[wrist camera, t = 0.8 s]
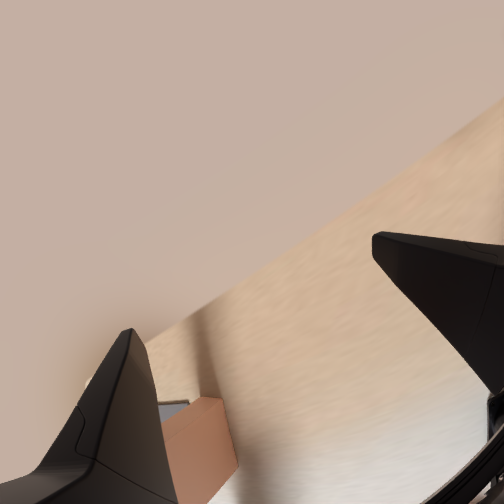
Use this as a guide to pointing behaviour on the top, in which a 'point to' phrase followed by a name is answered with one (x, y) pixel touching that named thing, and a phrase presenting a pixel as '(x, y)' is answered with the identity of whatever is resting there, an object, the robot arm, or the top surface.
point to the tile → (199, 450)
